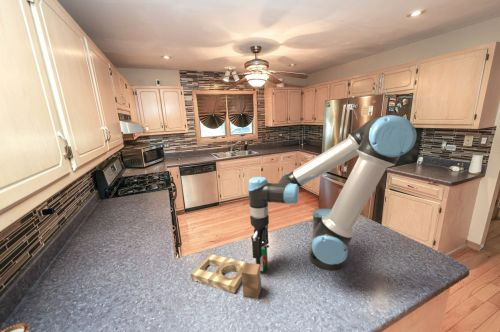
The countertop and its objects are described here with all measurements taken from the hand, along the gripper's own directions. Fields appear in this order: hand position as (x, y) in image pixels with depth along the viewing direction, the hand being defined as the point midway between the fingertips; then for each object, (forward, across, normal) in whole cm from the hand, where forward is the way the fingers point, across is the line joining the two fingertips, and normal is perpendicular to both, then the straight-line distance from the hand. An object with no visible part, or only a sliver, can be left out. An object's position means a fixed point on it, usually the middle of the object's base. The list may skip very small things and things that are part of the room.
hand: (261, 265), depth 88 cm
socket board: (+2, +9, -15) cm, 18 cm away
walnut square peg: (+2, +13, +1) cm, 13 cm away
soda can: (+2, 0, 0) cm, 2 cm away
